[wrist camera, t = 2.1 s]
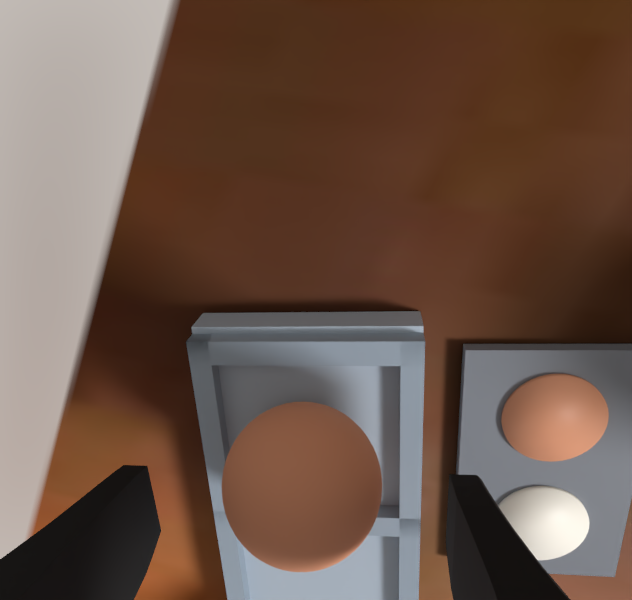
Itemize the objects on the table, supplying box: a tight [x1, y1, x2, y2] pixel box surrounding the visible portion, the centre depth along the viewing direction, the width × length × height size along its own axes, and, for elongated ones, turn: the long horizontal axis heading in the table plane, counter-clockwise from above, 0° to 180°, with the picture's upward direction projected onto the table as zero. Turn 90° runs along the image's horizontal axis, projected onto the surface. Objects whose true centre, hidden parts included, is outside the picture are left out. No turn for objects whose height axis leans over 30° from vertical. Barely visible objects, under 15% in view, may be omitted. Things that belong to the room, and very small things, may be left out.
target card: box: [456, 344, 632, 577], centre depth 15 cm, size 5×8×1 cm, turn 3°
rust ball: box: [222, 402, 382, 572], centre depth 13 cm, size 4×4×4 cm
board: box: [186, 311, 425, 600], centre depth 17 cm, size 6×20×2 cm, turn 3°
